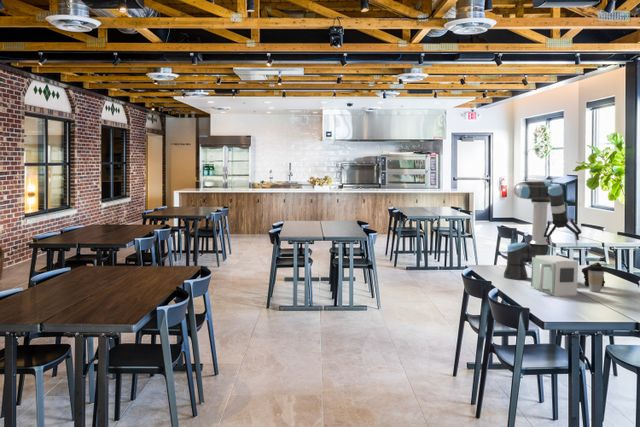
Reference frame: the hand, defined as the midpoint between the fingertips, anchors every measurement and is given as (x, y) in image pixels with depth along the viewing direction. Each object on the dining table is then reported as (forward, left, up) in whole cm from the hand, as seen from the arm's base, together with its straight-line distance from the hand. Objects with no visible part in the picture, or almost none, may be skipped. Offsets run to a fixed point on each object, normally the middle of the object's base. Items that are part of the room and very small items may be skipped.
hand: (564, 246), depth 324 cm
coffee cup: (+19, +15, -28) cm, 37 cm away
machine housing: (-4, +5, -28) cm, 28 cm away
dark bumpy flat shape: (+19, +31, -28) cm, 46 cm away
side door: (-14, 0, -27) cm, 30 cm away
